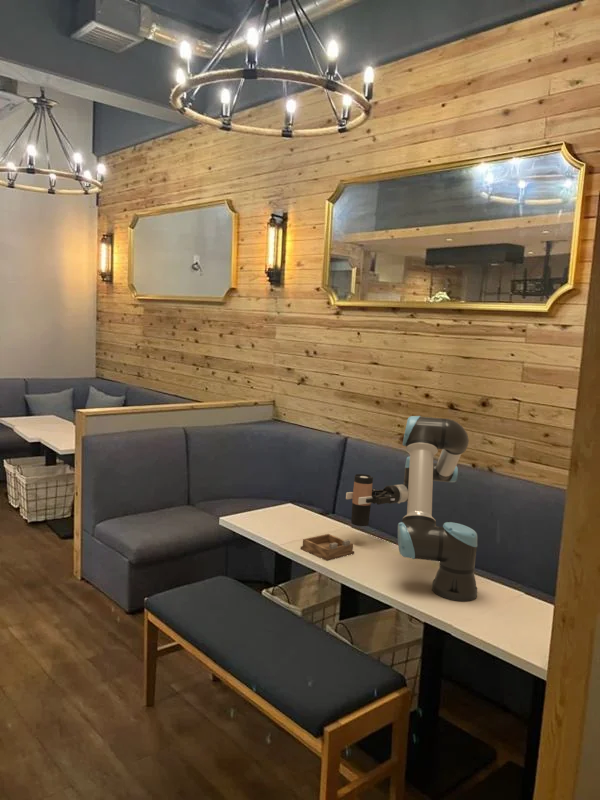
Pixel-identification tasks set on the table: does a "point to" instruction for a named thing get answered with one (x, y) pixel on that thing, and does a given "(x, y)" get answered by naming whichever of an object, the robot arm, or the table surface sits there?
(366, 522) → the travel mug
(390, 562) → the table surface
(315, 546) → the tray
